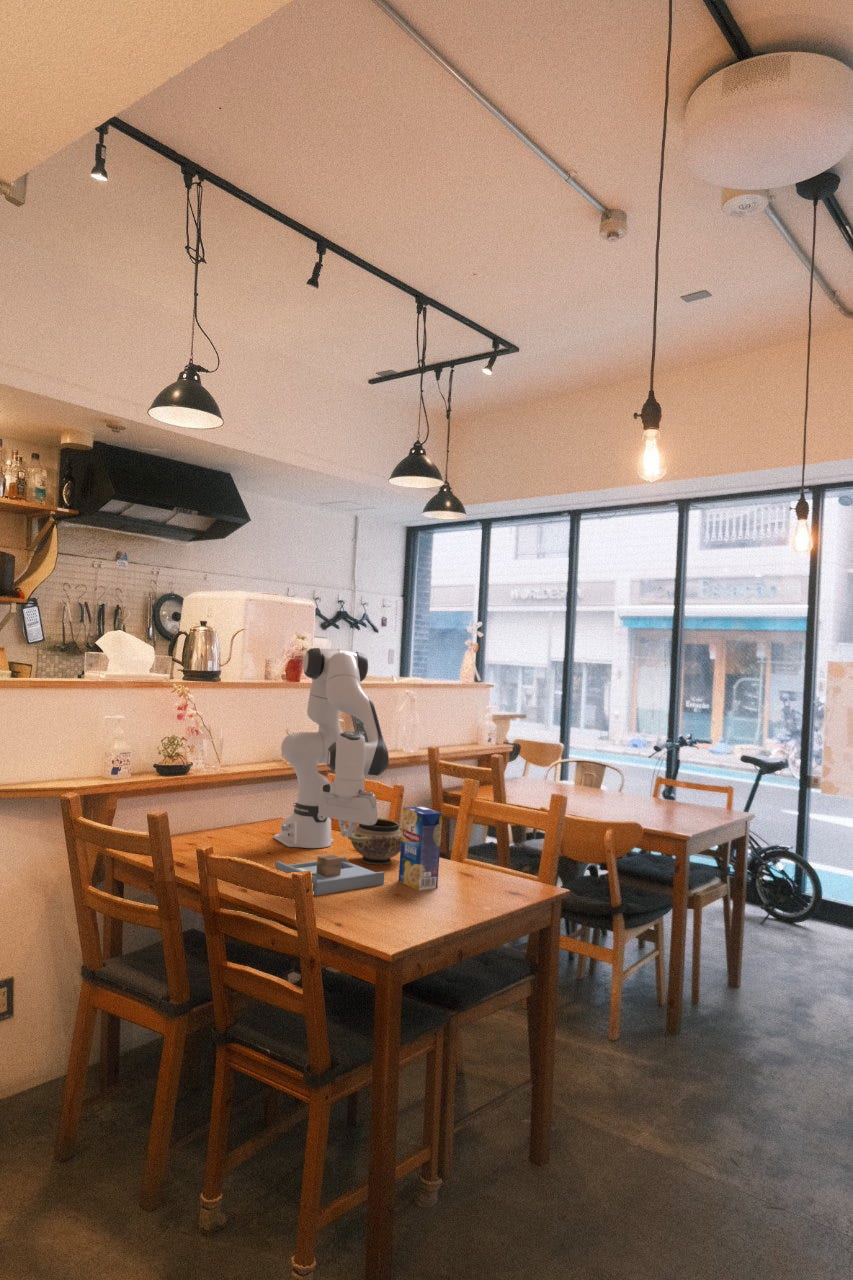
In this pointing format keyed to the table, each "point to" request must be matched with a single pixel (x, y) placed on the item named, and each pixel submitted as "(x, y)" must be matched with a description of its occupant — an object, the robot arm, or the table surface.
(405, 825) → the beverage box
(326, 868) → the block
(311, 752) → the robot arm
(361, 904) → the table surface
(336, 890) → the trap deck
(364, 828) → the ceramic bowl
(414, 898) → the table surface
